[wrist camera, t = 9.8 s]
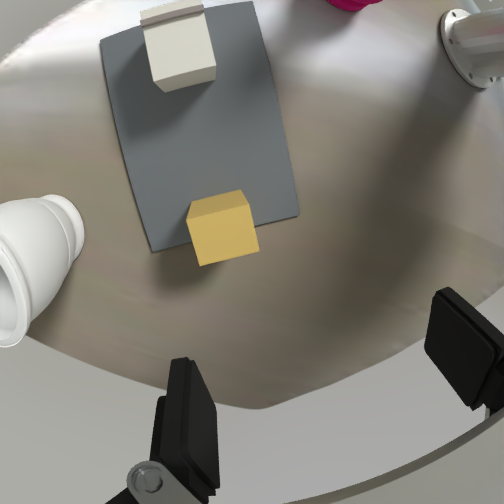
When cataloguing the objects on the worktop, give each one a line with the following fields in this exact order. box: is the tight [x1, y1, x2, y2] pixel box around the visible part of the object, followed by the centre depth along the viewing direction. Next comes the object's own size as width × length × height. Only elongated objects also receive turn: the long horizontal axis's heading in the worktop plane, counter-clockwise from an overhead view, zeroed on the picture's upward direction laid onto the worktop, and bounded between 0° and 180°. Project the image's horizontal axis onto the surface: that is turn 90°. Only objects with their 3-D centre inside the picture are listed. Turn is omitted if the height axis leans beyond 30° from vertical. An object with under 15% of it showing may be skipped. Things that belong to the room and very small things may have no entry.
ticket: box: [140, 0, 216, 93], centre depth 21 cm, size 5×7×6 cm
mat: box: [100, 1, 300, 252], centre depth 27 cm, size 16×24×1 cm, turn 12°
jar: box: [0, 195, 84, 347], centre depth 22 cm, size 11×10×15 cm
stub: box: [186, 189, 259, 266], centre depth 27 cm, size 5×4×7 cm
